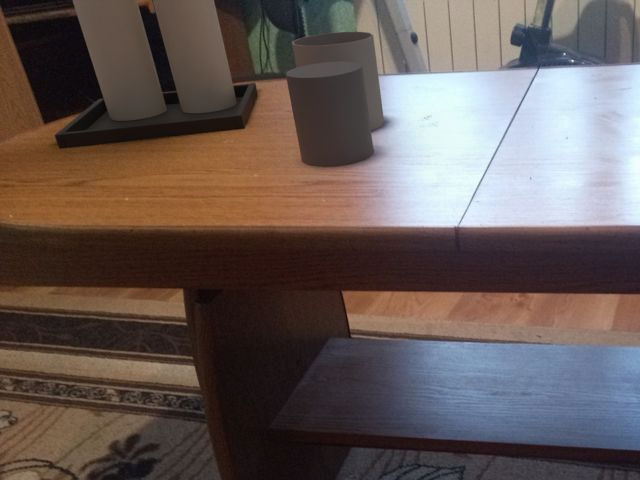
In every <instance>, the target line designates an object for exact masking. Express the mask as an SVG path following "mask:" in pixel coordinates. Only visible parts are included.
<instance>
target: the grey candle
mask: <svg viewBox="0 0 640 480" xmlns="http://www.w3.org/2000/svg"><path fill="white" fill-rule="evenodd" d="M285 78H286V83H287V88H288V94H289V95H288V96H289V100H290V105H291V110H292V115H293V120H294V127H295V132H296V137H297V142H298V148H299V153H300V158H301V162H302V163H303V164H305V165H307V166H311V167H316V168H317V167H318V168H333V167H334V168H335V167H343V166H348V165H353V164H356V163H359V162H363V161H365V160H367V159H369V158H371V157H372V156H373V155H374V153H375V150H374V143H373V136H372V135H373V134H372V131H371V127H370V120H369V112H368V105H367V98H366V90H365V83H364V75H363V68H362V65H361V64H359V63H355V62H326V63H317V64H310V65H305V66H301V67H294V68H292V69H289V70H288V71H286V72H285Z"/></svg>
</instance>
